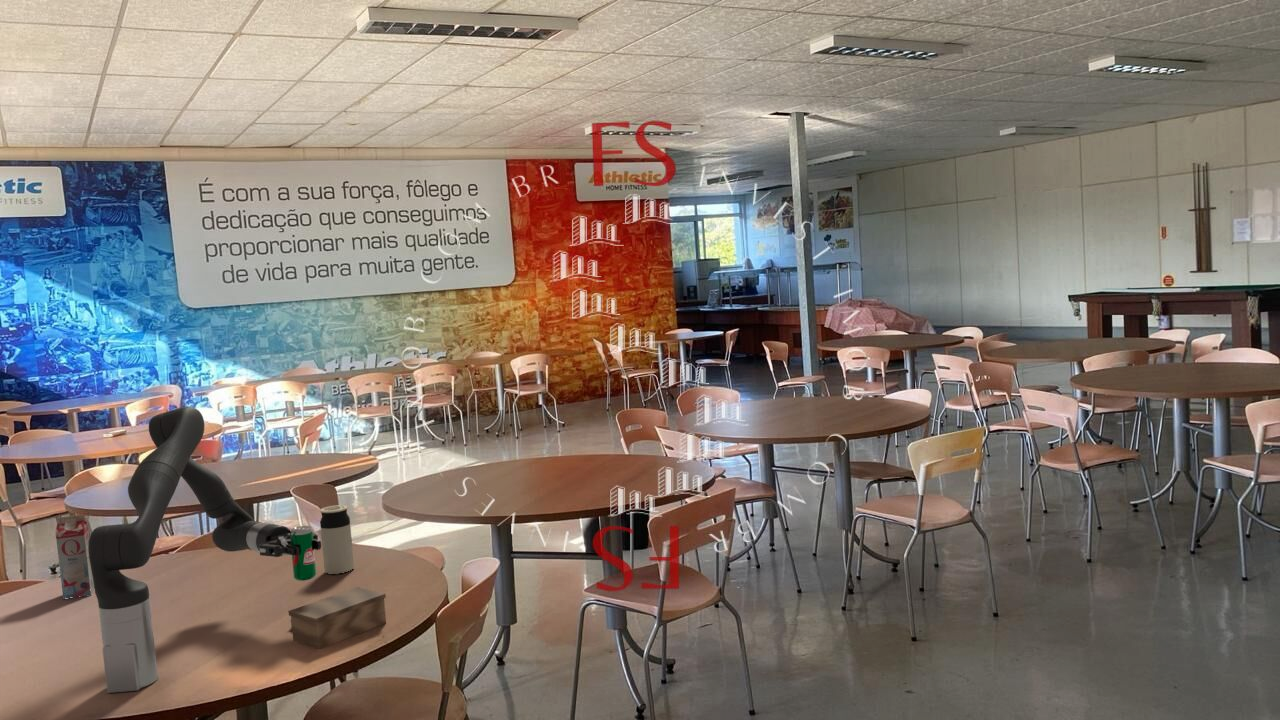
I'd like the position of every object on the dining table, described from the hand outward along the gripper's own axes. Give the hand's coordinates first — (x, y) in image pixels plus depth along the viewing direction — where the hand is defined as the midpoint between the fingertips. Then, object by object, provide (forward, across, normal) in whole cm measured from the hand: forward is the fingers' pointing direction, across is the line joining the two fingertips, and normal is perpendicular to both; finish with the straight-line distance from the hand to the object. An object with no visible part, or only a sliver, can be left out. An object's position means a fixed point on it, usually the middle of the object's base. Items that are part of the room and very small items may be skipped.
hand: (308, 548), depth 225 cm
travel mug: (-34, +30, +19) cm, 50 cm away
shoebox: (+9, 0, +19) cm, 21 cm away
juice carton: (-85, -18, +20) cm, 89 cm away
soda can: (-3, 0, +8) cm, 8 cm away
